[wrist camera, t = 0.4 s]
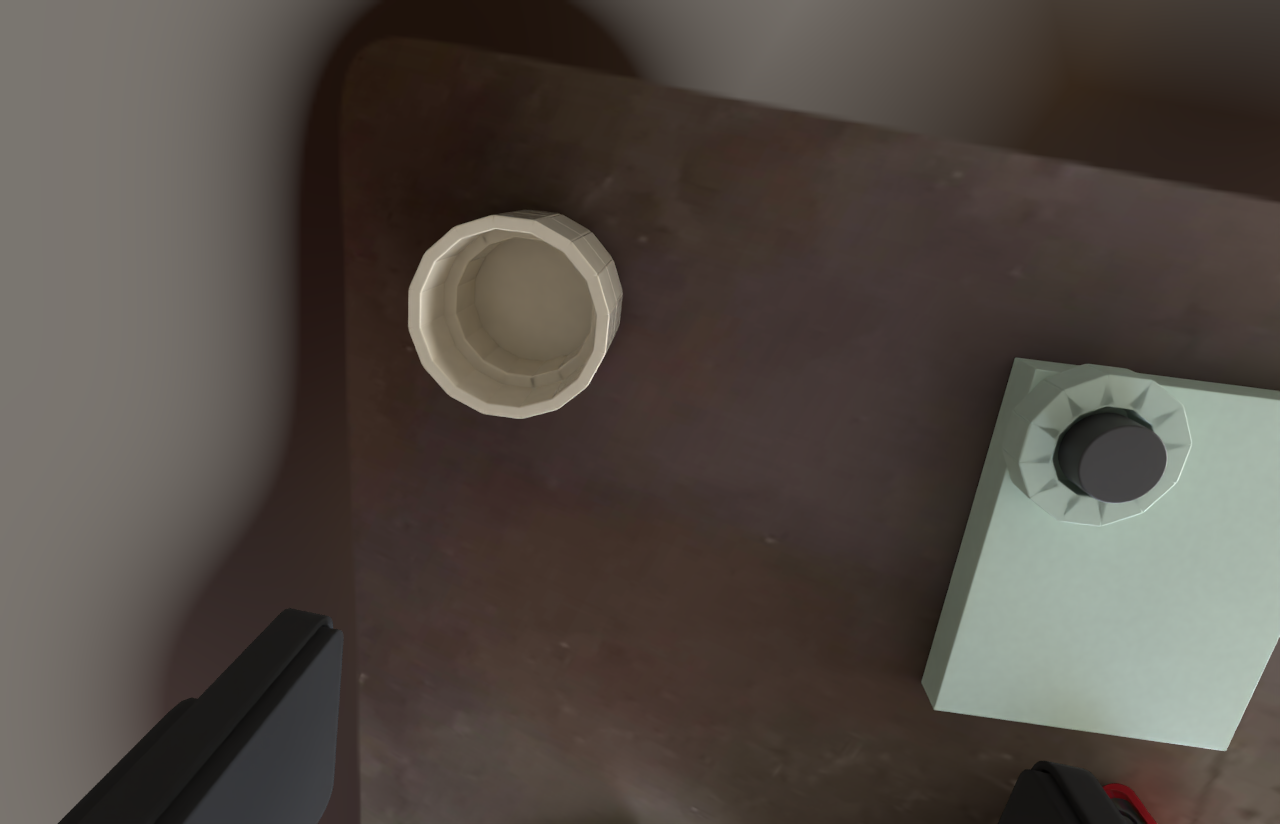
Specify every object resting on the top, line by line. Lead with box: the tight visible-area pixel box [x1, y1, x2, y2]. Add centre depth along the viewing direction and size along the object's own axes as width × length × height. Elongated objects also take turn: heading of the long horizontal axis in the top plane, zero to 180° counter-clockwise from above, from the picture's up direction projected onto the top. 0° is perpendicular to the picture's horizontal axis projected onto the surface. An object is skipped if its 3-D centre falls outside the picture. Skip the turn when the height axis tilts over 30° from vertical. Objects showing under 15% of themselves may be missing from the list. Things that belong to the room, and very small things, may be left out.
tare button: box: [1058, 412, 1167, 503], centre depth 26 cm, size 3×3×2 cm
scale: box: [921, 358, 1280, 751], centre depth 30 cm, size 16×14×4 cm
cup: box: [408, 209, 623, 419], centre depth 27 cm, size 7×7×6 cm
